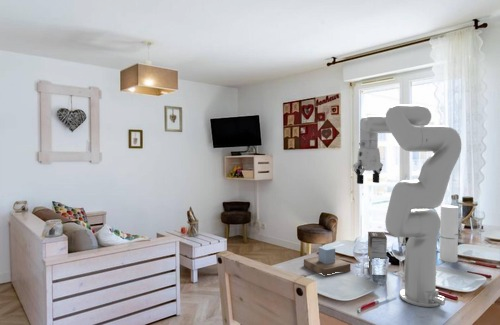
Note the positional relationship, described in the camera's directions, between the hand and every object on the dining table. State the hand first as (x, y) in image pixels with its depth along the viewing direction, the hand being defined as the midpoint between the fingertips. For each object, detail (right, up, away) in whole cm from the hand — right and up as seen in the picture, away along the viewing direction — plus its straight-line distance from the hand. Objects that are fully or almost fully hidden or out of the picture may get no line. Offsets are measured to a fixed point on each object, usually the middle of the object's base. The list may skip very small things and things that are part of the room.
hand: (368, 183), depth 151 cm
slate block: (-20, -34, -5) cm, 39 cm away
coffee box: (0, -37, -9) cm, 38 cm away
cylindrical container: (+39, -36, +5) cm, 53 cm away
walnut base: (-20, -37, -5) cm, 42 cm away
